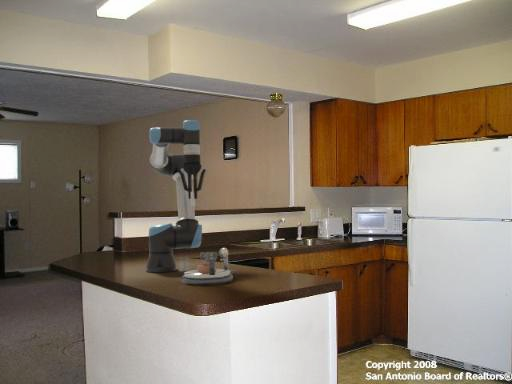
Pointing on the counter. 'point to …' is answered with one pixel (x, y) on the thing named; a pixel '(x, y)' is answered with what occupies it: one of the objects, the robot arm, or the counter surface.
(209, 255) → the mechanical component
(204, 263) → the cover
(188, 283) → the turntable base
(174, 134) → the robot arm
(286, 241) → the counter surface
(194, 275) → the platter
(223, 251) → the indicator stand
